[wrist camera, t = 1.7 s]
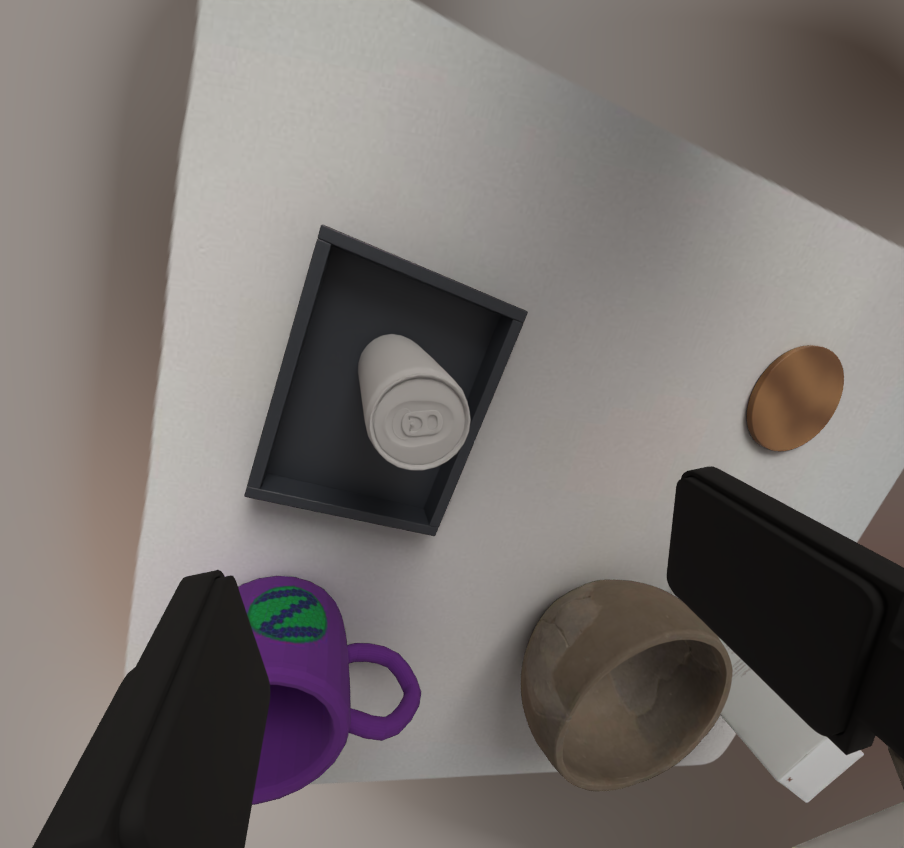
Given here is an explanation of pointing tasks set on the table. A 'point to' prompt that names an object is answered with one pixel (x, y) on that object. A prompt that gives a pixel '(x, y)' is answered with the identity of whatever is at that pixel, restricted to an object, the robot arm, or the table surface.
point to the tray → (338, 389)
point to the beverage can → (410, 404)
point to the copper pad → (795, 398)
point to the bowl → (621, 683)
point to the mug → (312, 683)
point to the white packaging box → (781, 735)
